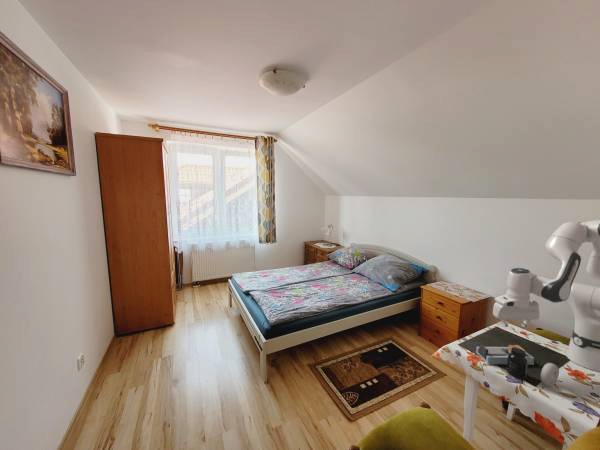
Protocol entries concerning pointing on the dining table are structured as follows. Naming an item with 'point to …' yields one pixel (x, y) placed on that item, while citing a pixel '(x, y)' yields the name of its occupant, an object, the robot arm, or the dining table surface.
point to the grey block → (490, 351)
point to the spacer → (515, 347)
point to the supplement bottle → (517, 363)
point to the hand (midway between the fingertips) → (514, 326)
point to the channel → (503, 357)
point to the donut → (549, 374)
